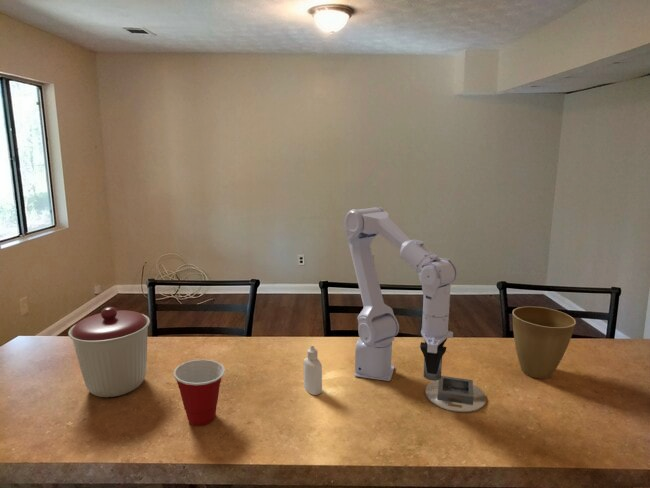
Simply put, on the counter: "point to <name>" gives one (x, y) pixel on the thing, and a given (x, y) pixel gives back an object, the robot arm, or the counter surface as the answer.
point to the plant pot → (541, 339)
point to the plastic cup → (199, 389)
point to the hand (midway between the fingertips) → (432, 368)
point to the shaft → (433, 376)
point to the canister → (112, 351)
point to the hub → (455, 394)
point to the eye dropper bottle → (312, 372)
